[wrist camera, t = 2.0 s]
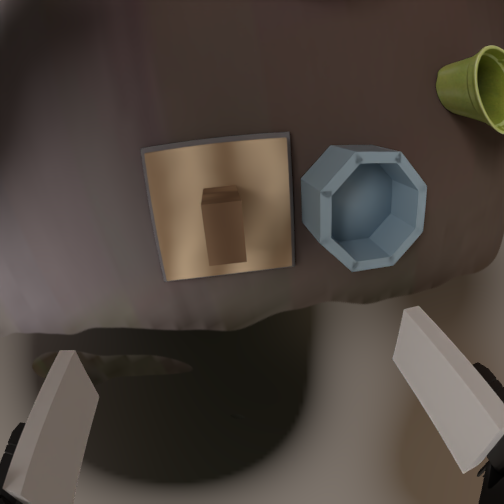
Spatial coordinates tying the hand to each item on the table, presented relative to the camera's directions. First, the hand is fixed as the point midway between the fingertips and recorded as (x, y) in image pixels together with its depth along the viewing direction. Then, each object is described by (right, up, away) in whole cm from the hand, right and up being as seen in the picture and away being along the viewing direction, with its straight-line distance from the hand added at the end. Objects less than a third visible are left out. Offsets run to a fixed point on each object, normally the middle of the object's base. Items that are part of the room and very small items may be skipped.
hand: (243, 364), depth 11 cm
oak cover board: (-3, +8, +19) cm, 21 cm away
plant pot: (+24, +24, +16) cm, 38 cm away
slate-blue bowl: (+11, +10, +20) cm, 25 cm away
